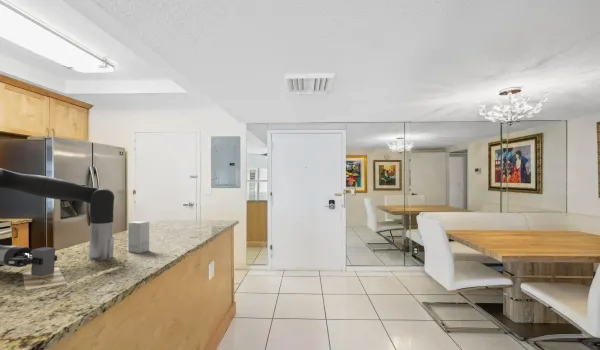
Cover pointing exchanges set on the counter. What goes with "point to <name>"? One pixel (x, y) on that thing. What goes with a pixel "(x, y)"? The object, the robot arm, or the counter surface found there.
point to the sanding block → (48, 262)
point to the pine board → (44, 280)
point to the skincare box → (138, 236)
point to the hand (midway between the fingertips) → (49, 260)
